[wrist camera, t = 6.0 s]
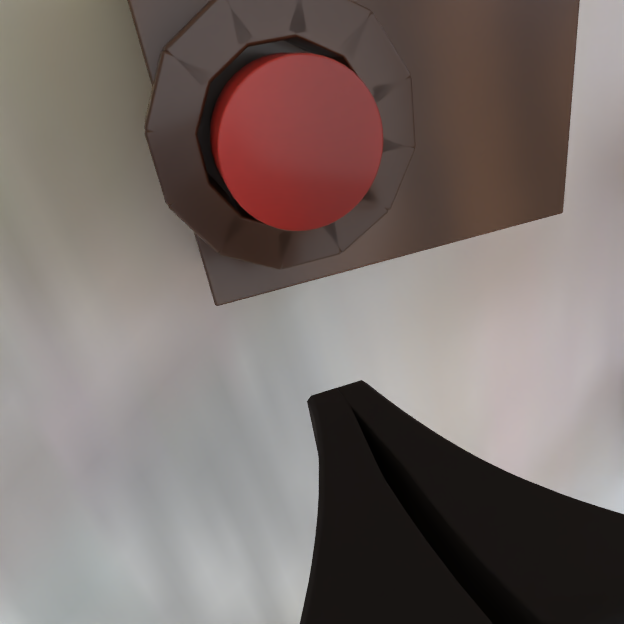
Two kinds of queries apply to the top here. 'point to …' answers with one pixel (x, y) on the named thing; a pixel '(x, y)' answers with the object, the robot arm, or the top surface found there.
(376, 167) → the red push button
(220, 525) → the top surface
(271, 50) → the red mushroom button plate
